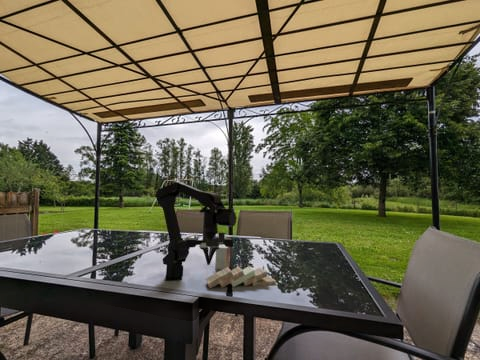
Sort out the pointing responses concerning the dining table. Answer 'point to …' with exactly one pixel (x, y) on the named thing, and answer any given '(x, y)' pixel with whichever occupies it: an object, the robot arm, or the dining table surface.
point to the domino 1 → (219, 277)
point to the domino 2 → (236, 275)
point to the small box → (222, 257)
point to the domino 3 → (247, 274)
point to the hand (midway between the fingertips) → (208, 264)
